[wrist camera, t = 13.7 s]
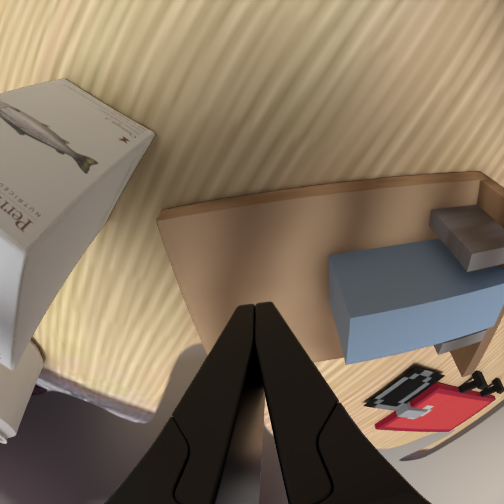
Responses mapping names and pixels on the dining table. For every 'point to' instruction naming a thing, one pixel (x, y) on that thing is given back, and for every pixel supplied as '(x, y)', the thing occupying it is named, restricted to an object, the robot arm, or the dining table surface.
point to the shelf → (326, 248)
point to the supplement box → (54, 194)
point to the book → (408, 299)
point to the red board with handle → (432, 402)
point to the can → (17, 389)
